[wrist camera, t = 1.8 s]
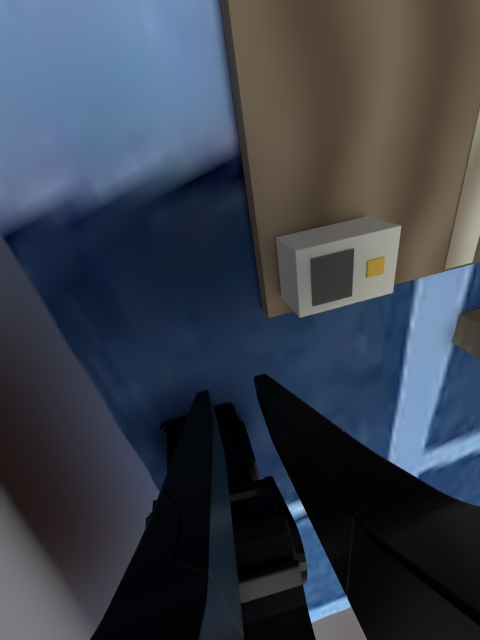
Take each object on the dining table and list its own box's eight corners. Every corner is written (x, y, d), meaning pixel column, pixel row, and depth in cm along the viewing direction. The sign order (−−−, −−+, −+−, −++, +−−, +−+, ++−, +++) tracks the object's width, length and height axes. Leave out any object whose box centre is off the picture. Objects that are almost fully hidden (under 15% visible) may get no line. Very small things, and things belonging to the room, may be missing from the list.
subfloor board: (262, 308, 21) (269, 318, 20) (215, -28, 13) (222, -51, 11) (493, 248, 24) (514, 253, 22) (590, -71, 15) (633, -95, 13)
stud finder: (281, 296, 19) (300, 318, 16) (275, 237, 17) (296, 251, 14) (363, 275, 20) (394, 293, 17) (367, 216, 18) (403, 226, 15)
